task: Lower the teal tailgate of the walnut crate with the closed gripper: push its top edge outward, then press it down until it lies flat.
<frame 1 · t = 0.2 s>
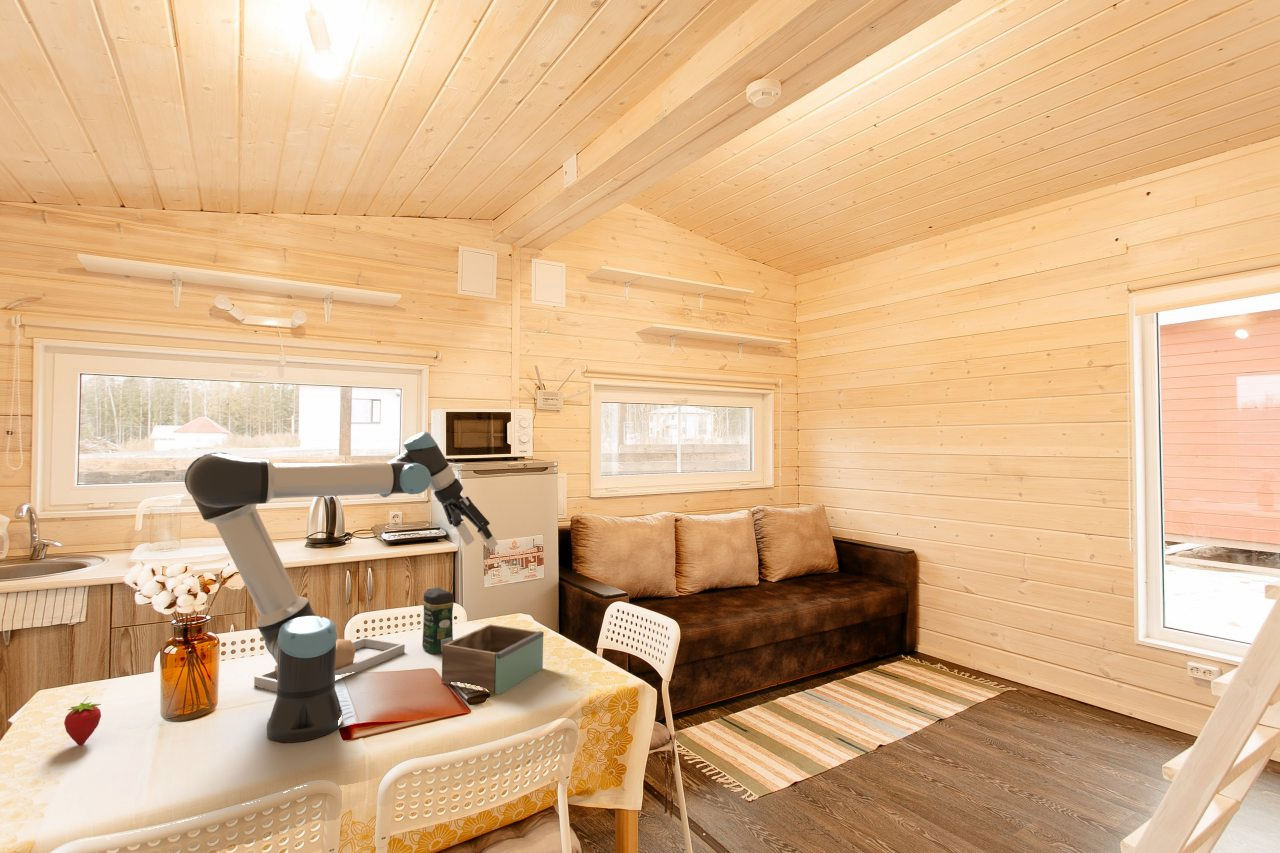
hand: (482, 544, 186), 35 cm above the table, tool tilted 35°, fingers open, 13 cm apart
crate: (493, 679, 176), on the table
tailgate: (520, 661, 173), point 6 cm above the table, hinge at 0.0°
serving tray: (335, 668, 183), on the table
decorative fruit: (82, 745, 136), on the table
squash: (316, 676, 177), on the table, touching serving tray
coffee jar: (437, 650, 200), on the table
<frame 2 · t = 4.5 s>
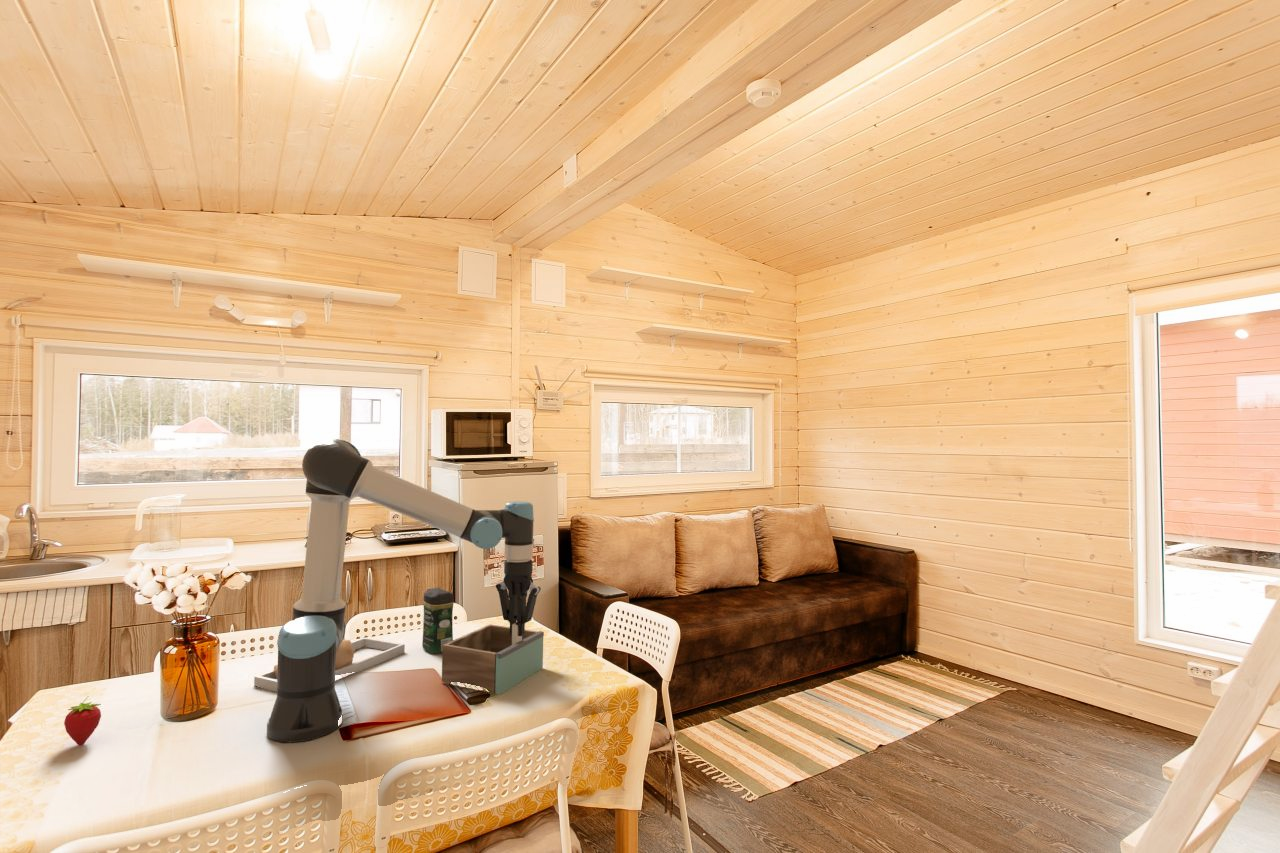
hand: (516, 647, 174), 10 cm above the table, tool pointing down, fingers closed
tailgate: (520, 661, 173), point 6 cm above the table, hinge at 0.4°, touching gripper
squash: (315, 676, 177), on the table
everything else where it was.
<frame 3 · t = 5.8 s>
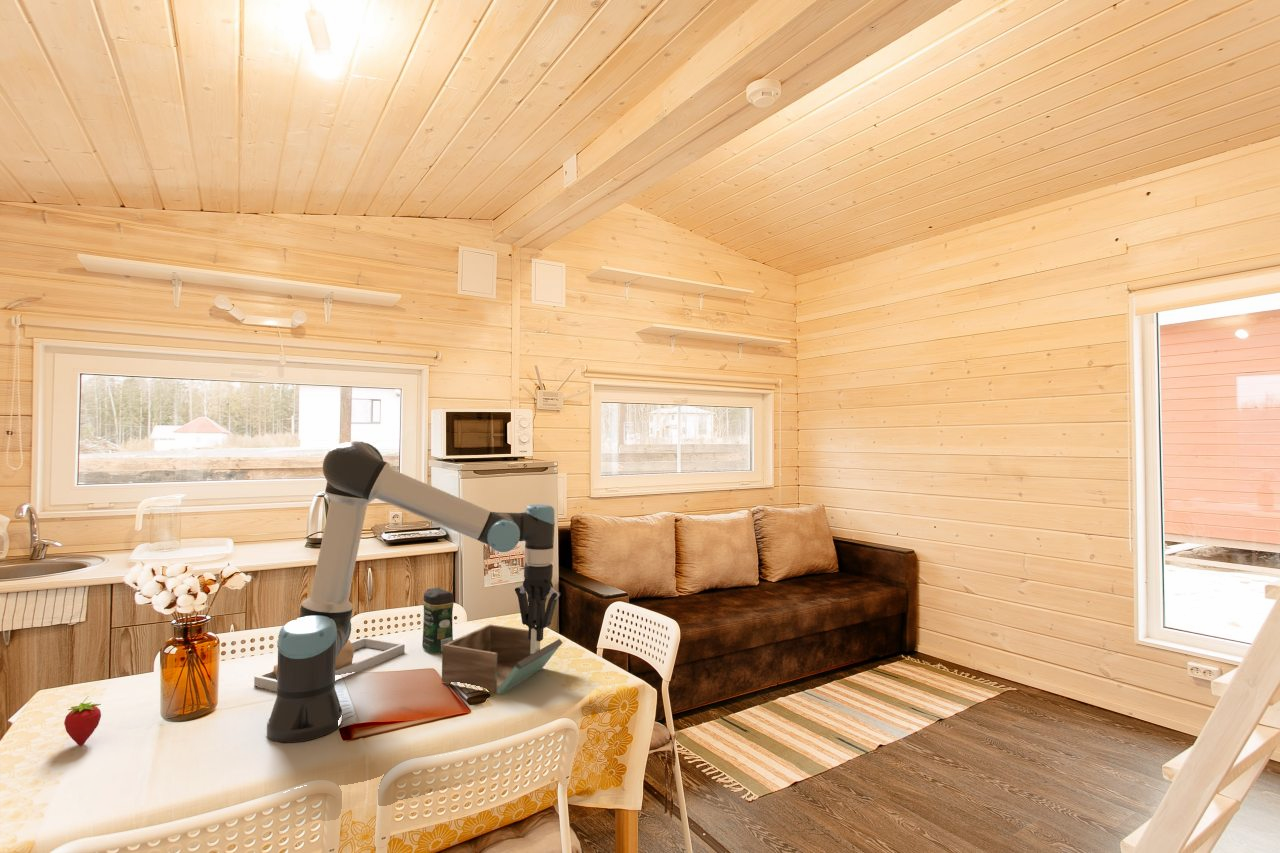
hand: (535, 652, 172), 9 cm above the table, tool pointing down, fingers closed
tailgate: (530, 665, 172), point 5 cm above the table, hinge at 37.7°, touching gripper
squash: (315, 676, 177), on the table, touching serving tray
everything else where it was.
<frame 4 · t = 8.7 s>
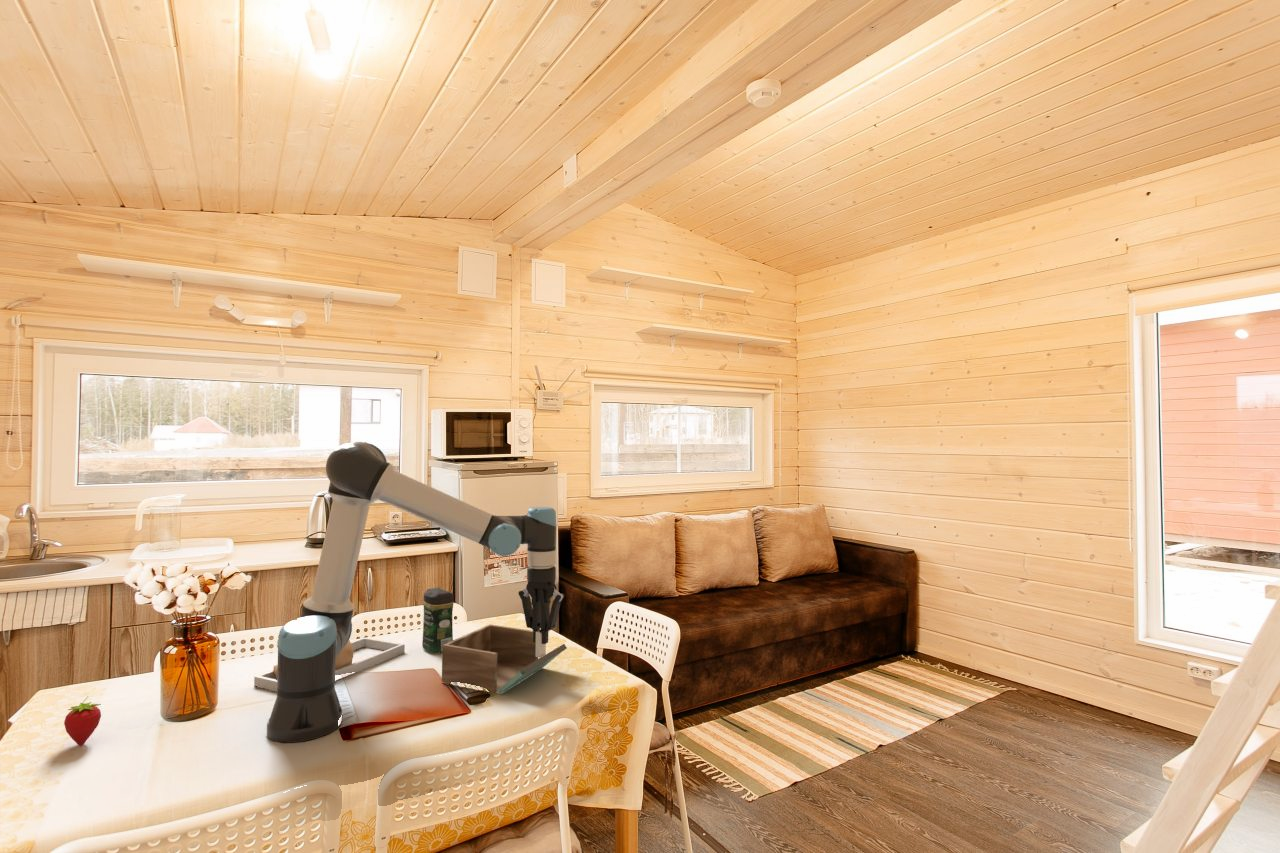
hand: (540, 655, 171), 8 cm above the table, tool pointing down, fingers closed
tailgate: (533, 668, 172), point 5 cm above the table, hinge at 48.5°, touching gripper
everything else where it was.
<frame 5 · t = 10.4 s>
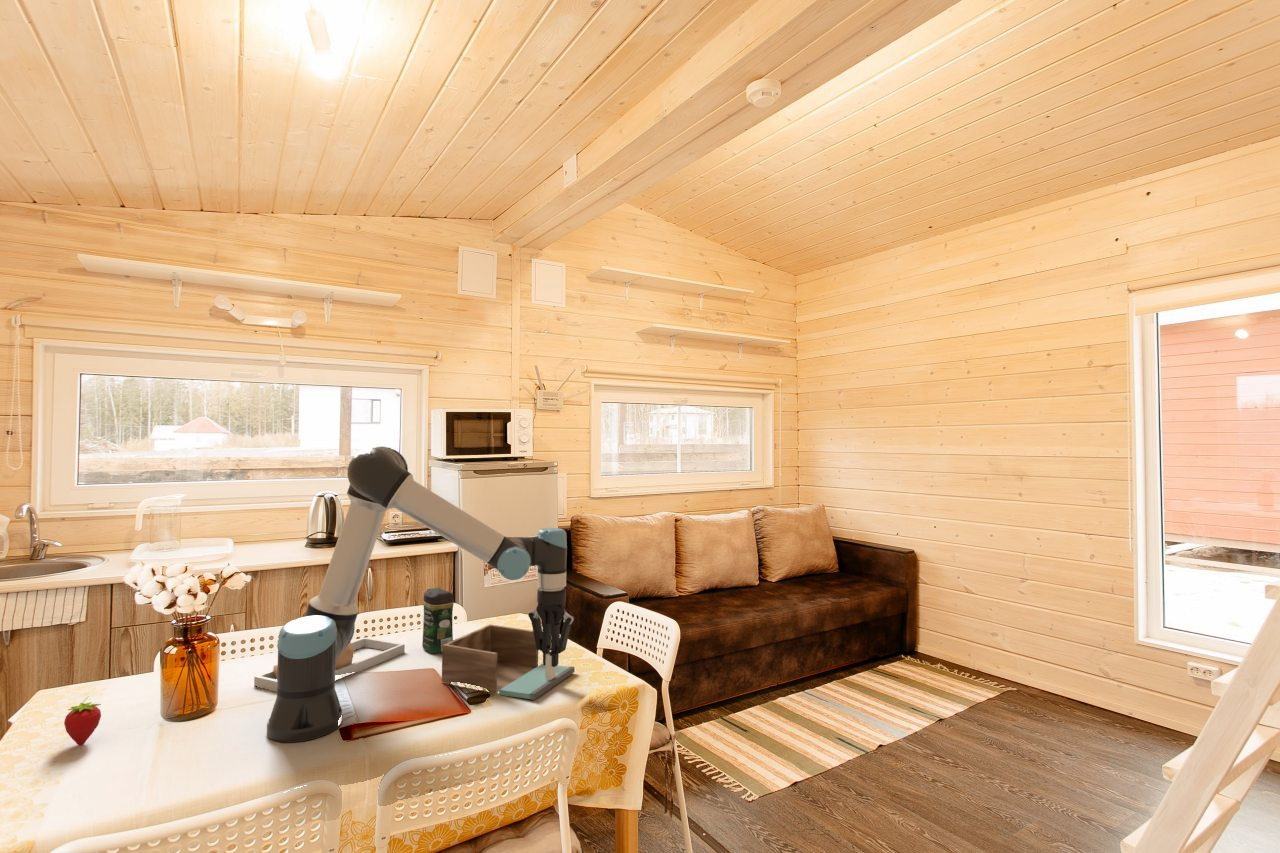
hand: (550, 678, 170), 3 cm above the table, tool pointing down, fingers closed
tailgate: (538, 680, 171), point 2 cm above the table, hinge at 86.9°, touching gripper
everything else where it was.
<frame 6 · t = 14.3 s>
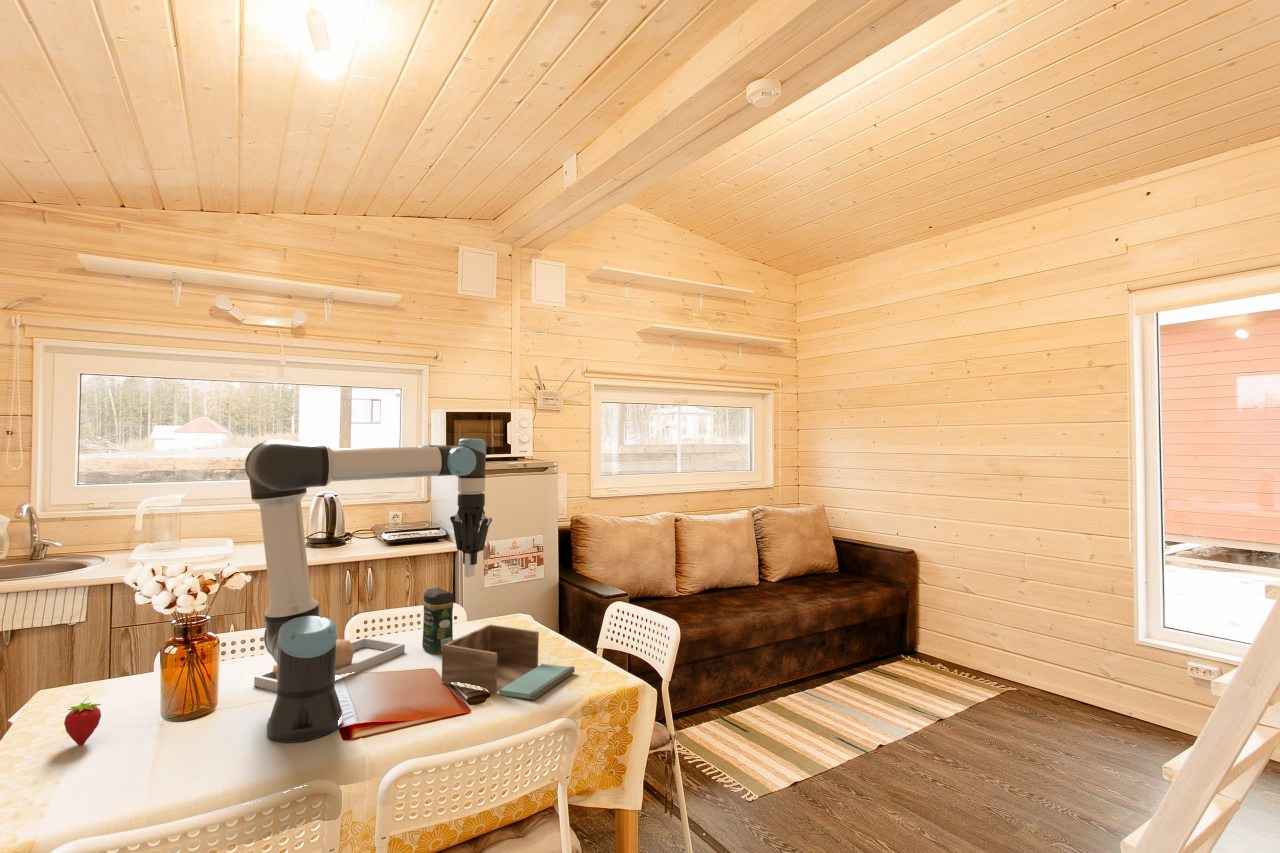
hand: (469, 575, 184), 26 cm above the table, tool pointing down, fingers closed
tailgate: (538, 680, 171), point 2 cm above the table, hinge at 86.9°
everything else where it was.
at the end: tailgate at +87° (first picture: +0°) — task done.
